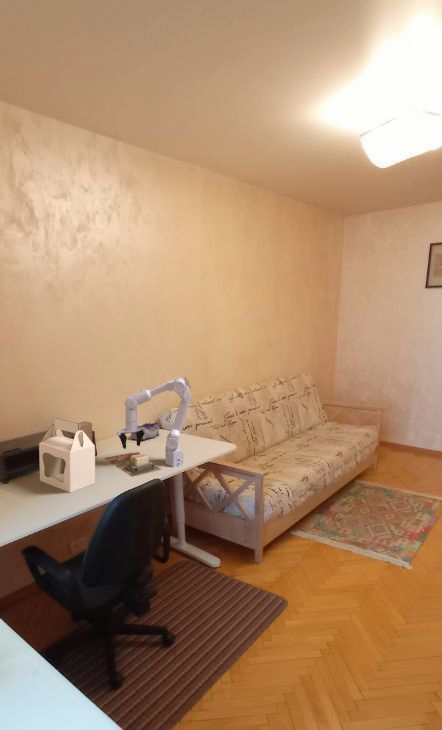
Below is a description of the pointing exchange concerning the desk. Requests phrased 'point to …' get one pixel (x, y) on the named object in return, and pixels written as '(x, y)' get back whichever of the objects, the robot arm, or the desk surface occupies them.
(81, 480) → the gable box
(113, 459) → the lane board
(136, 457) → the block
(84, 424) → the decorative block
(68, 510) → the desk surface
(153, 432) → the geode
